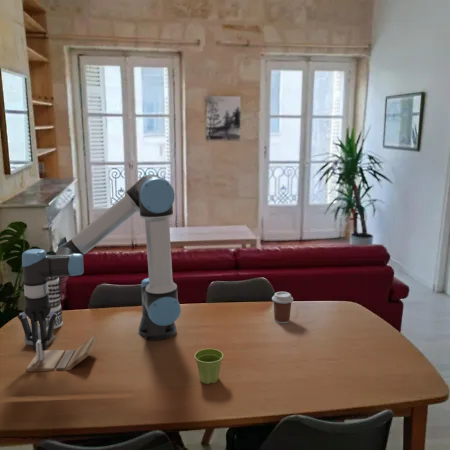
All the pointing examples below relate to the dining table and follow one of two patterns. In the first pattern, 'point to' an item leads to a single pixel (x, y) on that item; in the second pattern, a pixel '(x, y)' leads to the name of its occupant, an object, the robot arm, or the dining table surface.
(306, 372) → the dining table surface
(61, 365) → the centre strip
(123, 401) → the dining table surface
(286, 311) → the coffee cup
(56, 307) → the decorative candle
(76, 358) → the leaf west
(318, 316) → the dining table surface
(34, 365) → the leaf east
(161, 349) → the dining table surface
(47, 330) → the ceramic mug
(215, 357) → the plant pot
